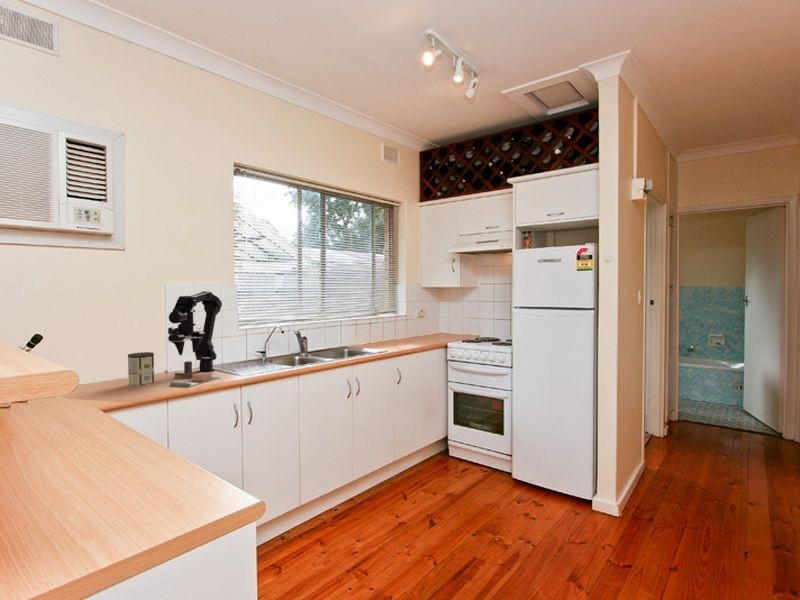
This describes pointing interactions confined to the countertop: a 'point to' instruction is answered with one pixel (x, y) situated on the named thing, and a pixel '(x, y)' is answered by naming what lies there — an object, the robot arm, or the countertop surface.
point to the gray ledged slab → (190, 383)
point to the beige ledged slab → (186, 371)
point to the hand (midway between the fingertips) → (187, 353)
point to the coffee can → (141, 369)
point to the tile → (202, 377)
